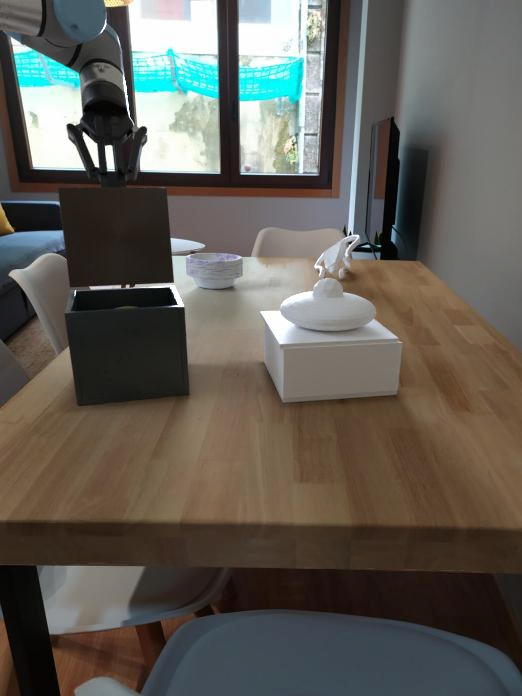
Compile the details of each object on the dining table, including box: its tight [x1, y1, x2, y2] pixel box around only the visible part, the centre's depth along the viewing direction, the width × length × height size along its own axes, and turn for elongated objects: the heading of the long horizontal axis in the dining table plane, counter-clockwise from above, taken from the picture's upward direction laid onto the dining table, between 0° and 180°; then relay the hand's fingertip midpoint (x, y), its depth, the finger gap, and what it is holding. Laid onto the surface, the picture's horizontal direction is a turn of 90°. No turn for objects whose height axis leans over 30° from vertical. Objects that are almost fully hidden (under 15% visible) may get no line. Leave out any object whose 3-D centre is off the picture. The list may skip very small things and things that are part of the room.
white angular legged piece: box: [314, 234, 361, 280], centre depth 163 cm, size 17×9×22 cm
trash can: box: [63, 285, 190, 406], centre depth 81 cm, size 14×16×13 cm
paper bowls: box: [185, 252, 244, 290], centre depth 146 cm, size 15×15×8 cm
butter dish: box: [259, 277, 403, 404], centre depth 84 cm, size 18×18×16 cm
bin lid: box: [57, 186, 175, 288], centre depth 83 cm, size 14×16×1 cm
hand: (116, 211), depth 84 cm, fingers closed
